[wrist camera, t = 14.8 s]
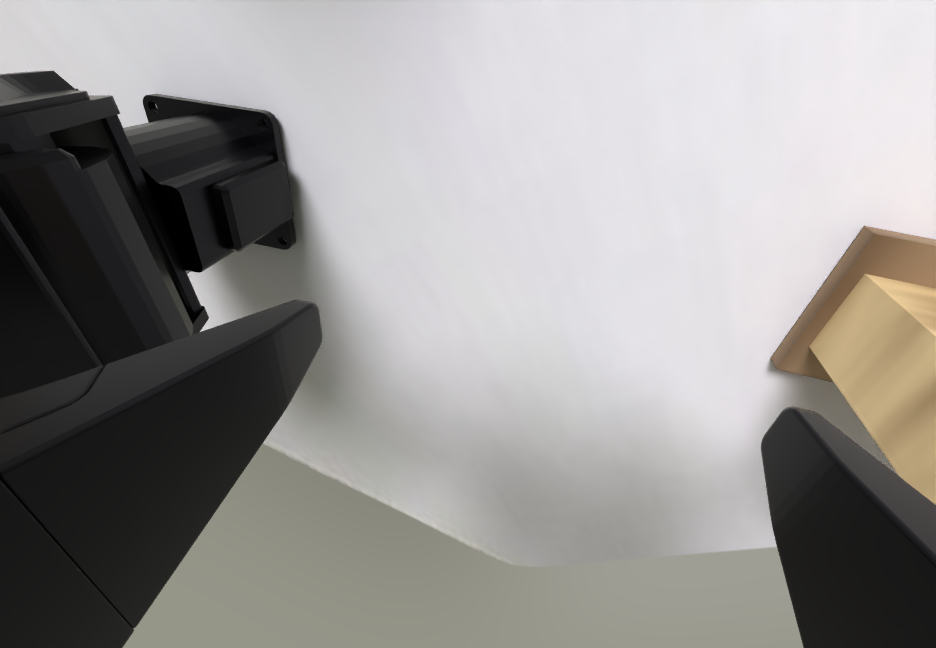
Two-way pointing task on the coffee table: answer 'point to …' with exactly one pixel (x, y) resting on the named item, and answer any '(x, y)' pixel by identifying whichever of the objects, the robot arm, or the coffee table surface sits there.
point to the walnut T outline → (865, 255)
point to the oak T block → (888, 370)
